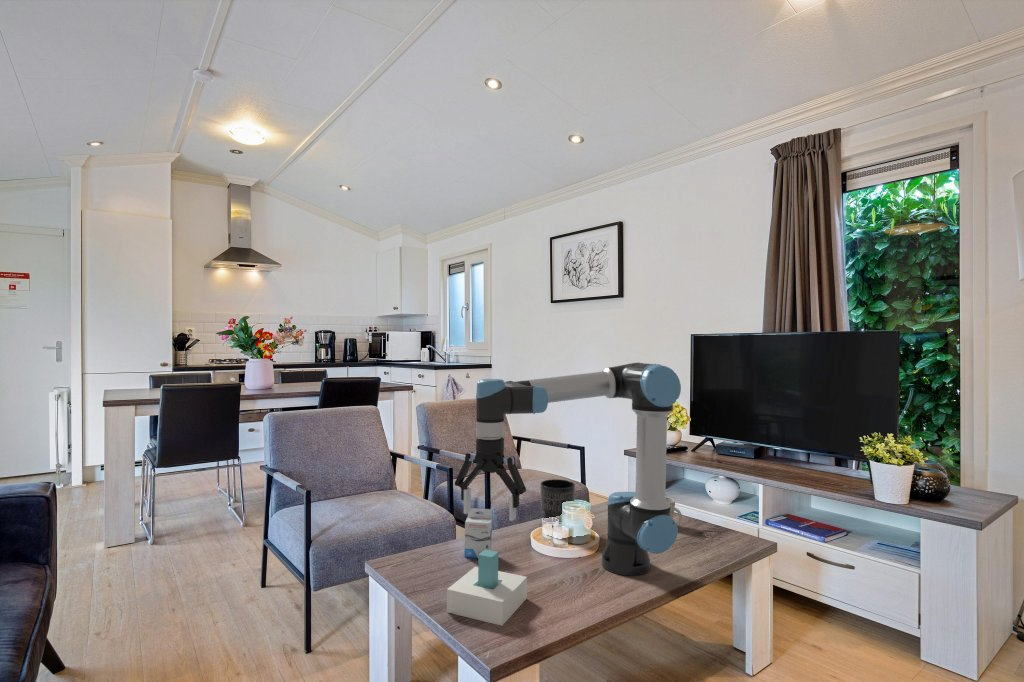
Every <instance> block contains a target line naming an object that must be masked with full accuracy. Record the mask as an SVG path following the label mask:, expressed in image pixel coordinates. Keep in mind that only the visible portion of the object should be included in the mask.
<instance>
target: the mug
mask: <svg viewBox="0 0 1024 682" xmlns="http://www.w3.org/2000/svg"><path fill="white" fill-rule="evenodd" d="M665 498H666V500H667V501H668V502H669V503H670V505H671V510H670V517H671V518H673V519H674V515H675V514H674V513H677V515H678V517H679V518H678V521H677V522H675V523H676V524H677V526H680V525H681V523H682V522H683V514H682V512H681V510H680V509H679V508H676V507H675V506H676V500H675V499H673V498H672V497H666V496H665Z"/></svg>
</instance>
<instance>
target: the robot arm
mask: <svg viewBox="0 0 1024 682" xmlns="http://www.w3.org/2000/svg"><path fill="white" fill-rule="evenodd" d="M476 383H477V384H476V395H475V399H476V401H475V404H476V405H475V406H476V409H475V412H476V415H475V417H476V420H475V425H476V426H475V435H476V438H475V451H476V453H474V452H473V451H470V452H467V453H466V454H465V456H464V462H463V463H462V466H461V468H460V471H459V473H458V474H457V477H456V479H455V481H454V486H456V487H459V488H460V496H461V497H460V499H461V501H463V514H464V515H468V512H470V511H471V507H472V506H471V505H472V503H471V502H472V501H471V500H472V487H470V484H471V483H472V482H473V481H474V480H475V479H476V478H477V477H478V476H479V474H480V472H481V471H482V472H484V473H487V472H489V473H491V474H492V473H493V474H494V473H496V475H497V476H498V477H499V478H500V479H501V480H502V481H503V483H504V485H505V486H506V488H507V489H508V490H509V492H510V493H511V494H510V495H509V497H508V498H509V503H508V504H509V512H508V513H509V514H508V515H509V522H513V521H514V520H515V519H516V518H517V508H518V507H520V495H523V494H524V493H527V488H526V485H525V483H524V481H523V479H522V476H521V473H520V472H519V469H518V467H517V464H516V457H515V456H513V455H512V456H505V455H504V451H505V439H504V435H505V415H514V414H515V415H517V414H518V415H521V414H526V415H527V414H533V415H535V414H542V413H544V412H546V411H547V408H548V405H549V403H558V402H567V401H574V400H582V399H589V398H590V399H591V398H597V397H606V398H607V399H616V398H619V399H620V398H621V399H628V400H631V410H632V411H633V412H634V413H635V415H636V442H635V443H636V447H635V448H636V450H635V451H636V452H635V453H636V454H635V491H616V492H613V493H610V494H609V495H608V499H607V500H608V501H607V540H606V543H605V546H604V549H603V552H602V554H601V565H602V567H603V568H604V569H605V570H607V571H608V572H611V573H614V574H618V575H623V576H640V575H643V574H646V573H648V572H649V571H650V569H651V559H650V555H649V553H650V554H655V555H657V554H663V553H665V552H667V551H668V550H670V548H671V547H673V545H674V544H675V542H676V541H677V538H678V533H679V529H678V525H677V524H676V523H677V522H676V521H675V519H674V517H673V518H671V517H670V510H671V505H670V503H669V502H668V501H667V500H666V498H665V497H666V491H667V490H666V485H667V483H666V482H667V481H666V480H667V479H666V478H667V477H666V476H667V444H668V443H667V436H668V432H667V431H668V430H667V429H668V417H669V415H670V414H671V413H673V409H674V408H673V407H674V404H675V403H676V402H677V400H678V399H679V398H680V395H681V393H682V392H681V391H682V384H681V380H680V378H679V376H678V374H677V373H676V372H675V370H673V369H672V368H670V367H669V366H666V365H662V364H659V363H658V364H657V363H643V362H632V363H626V364H621V365H615V366H609V367H604V368H603V369H602V371H597V372H596V371H595V372H587V373H578V374H570V375H561V376H552V377H544V378H537V379H527V380H520V381H519V380H517V381H512V380H507V381H504V379H502V378H501V379H500V378H482V379H479V380H478V381H477V382H476ZM474 460H475V462H476V463H477V464H476V466H475V467H474V468H473V470H472V471H471V472H470V473H469V470H470V469H471V468H470V467H471V466H472V463H473V461H474ZM504 464H505V465H506V466H507V469H508V471H509V473H510V475H509V473H508V472H507V469H506V467H505V466H504ZM468 473H469V475H468V476H467V474H468ZM466 476H467V477H466Z"/></svg>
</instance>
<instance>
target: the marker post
mask: <svg viewBox="0 0 1024 682" xmlns="http://www.w3.org/2000/svg"><path fill="white" fill-rule="evenodd" d="M477 559H478V560H477V561H478V562H477V563H478V566H477V567H478V586H479V587H483V588H488V589H492V590H493V589H495V588H496V587H497V586H498V571H499V551H495V550H492V549H491V550H484V551H483V552H481V553H480V554H479V555H478V558H477Z"/></svg>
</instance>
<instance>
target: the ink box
mask: <svg viewBox="0 0 1024 682" xmlns="http://www.w3.org/2000/svg"><path fill="white" fill-rule="evenodd" d="M492 511H493V509H491V508H477V507H476V508H475V507H474V508H471V511H470V512H468V513H467V517H466V520H465V521H464V553H463V554H464V556H463V557H464V558H472V559H474V558H476V559H478V555H479V554H480V553H481V552H483V551H484V550H491V551H492V541H493V539H492V536H493V534H492V531H493V518H492V516H493V515H492ZM479 512H480V513H479Z"/></svg>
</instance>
